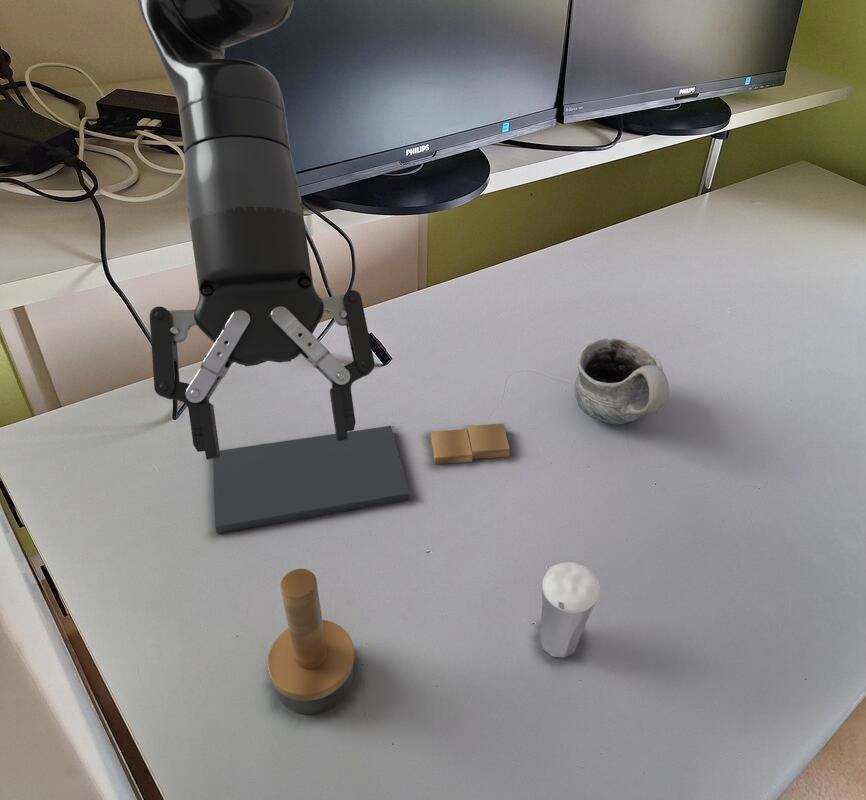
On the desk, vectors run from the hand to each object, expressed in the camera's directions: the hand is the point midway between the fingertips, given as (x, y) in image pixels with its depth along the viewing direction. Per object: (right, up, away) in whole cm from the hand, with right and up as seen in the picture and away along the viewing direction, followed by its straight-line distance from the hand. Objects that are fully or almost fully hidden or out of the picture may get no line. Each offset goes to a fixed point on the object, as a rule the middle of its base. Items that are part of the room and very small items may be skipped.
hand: (279, 449), depth 53 cm
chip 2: (+13, -2, +30) cm, 33 cm away
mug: (+28, +1, +36) cm, 45 cm away
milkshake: (+20, -18, +13) cm, 29 cm away
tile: (-5, -5, +24) cm, 25 cm away
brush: (0, -19, +8) cm, 21 cm away
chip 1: (+9, -2, +29) cm, 31 cm away
